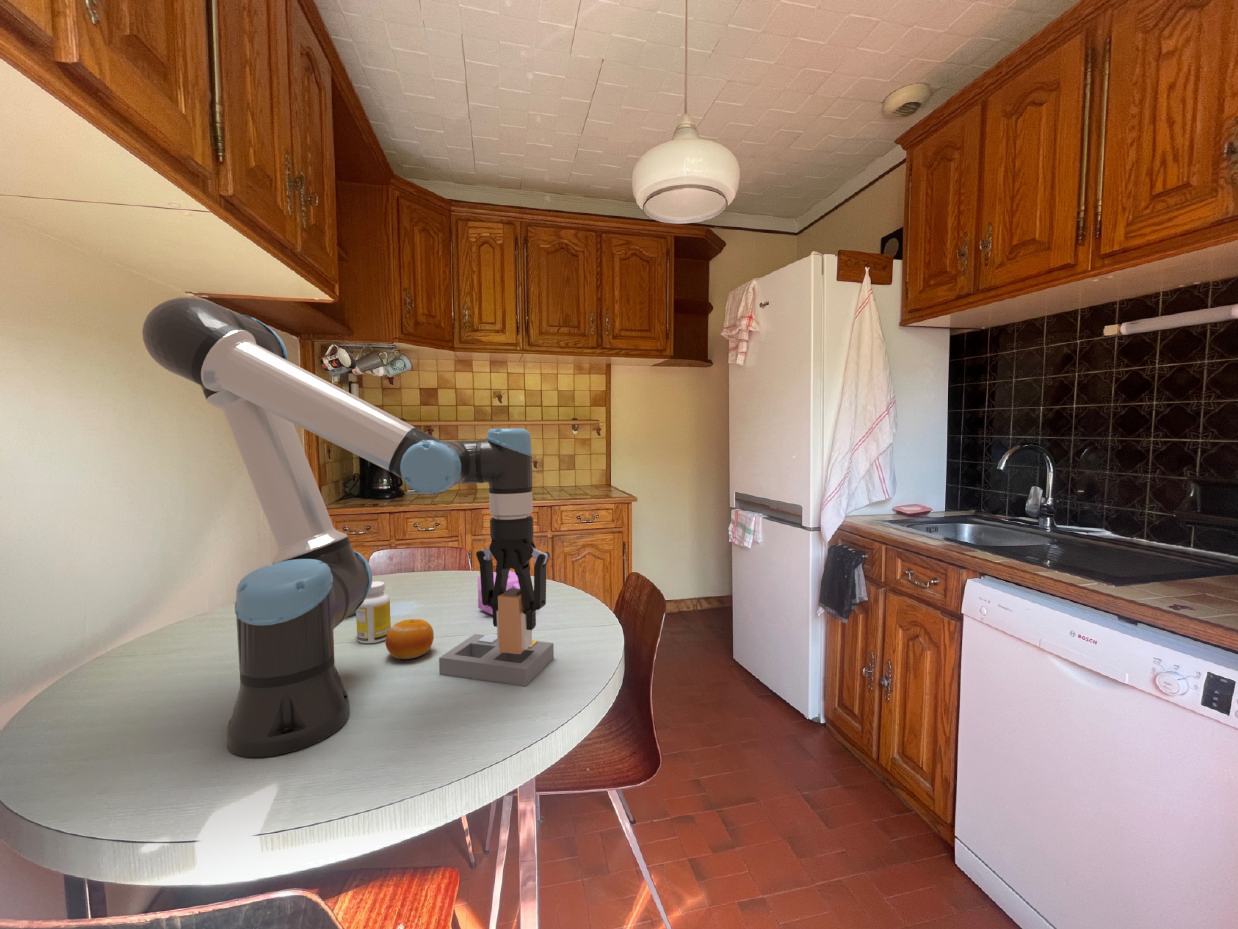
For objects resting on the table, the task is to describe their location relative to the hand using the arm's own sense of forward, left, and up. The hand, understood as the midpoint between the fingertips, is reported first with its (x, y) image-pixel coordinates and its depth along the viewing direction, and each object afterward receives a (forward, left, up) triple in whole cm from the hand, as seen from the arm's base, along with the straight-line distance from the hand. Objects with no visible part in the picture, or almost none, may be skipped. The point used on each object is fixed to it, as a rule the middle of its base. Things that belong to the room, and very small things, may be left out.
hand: (514, 645), depth 93 cm
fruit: (+1, +23, -5) cm, 24 cm away
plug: (0, 0, -1) cm, 1 cm away
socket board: (+1, +4, -5) cm, 6 cm away
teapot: (+29, +18, -5) cm, 34 cm away
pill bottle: (+6, +36, -5) cm, 37 cm away
